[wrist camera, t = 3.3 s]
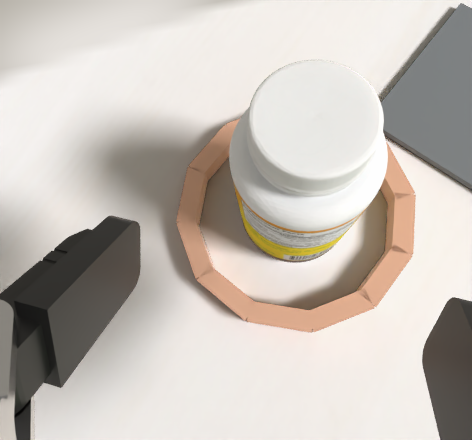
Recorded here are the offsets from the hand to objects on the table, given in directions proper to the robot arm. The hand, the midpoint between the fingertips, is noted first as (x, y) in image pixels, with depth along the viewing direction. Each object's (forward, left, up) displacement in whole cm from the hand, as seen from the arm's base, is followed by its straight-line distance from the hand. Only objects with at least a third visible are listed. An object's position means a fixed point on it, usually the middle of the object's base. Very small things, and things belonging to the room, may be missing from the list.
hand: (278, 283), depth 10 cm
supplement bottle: (-2, +4, -10) cm, 11 cm away
